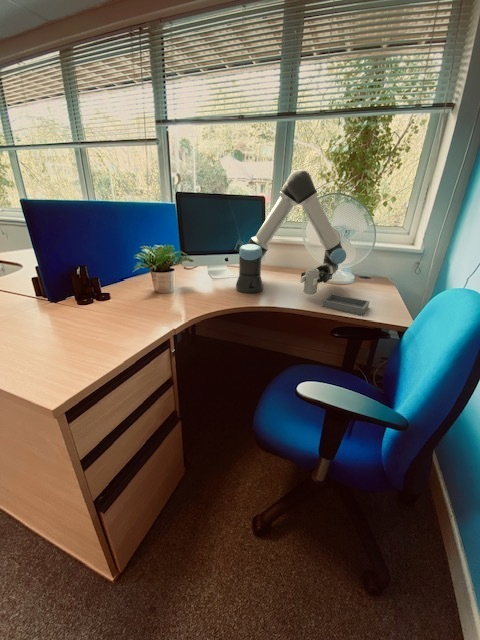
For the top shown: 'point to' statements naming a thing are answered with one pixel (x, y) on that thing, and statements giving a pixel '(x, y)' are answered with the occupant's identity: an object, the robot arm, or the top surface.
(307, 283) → the beverage can
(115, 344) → the top surface
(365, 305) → the tray
